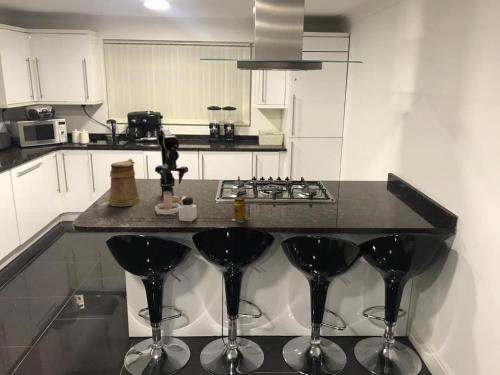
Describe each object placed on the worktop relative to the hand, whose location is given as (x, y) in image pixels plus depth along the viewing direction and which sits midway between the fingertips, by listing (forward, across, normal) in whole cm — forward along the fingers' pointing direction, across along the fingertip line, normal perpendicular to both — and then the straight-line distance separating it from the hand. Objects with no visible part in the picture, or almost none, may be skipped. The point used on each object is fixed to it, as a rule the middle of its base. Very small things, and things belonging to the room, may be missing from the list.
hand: (172, 183), depth 251 cm
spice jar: (+12, +2, -12) cm, 17 cm away
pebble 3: (+12, +4, +6) cm, 14 cm away
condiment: (+13, +46, -16) cm, 50 cm away
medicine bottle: (+13, +18, -22) cm, 31 cm away
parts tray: (+13, +1, +5) cm, 14 cm away
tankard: (+13, -30, -1) cm, 33 cm away
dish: (+13, +2, -12) cm, 18 cm away
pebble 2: (+12, +2, +4) cm, 13 cm away
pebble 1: (+12, -2, +6) cm, 13 cm away
